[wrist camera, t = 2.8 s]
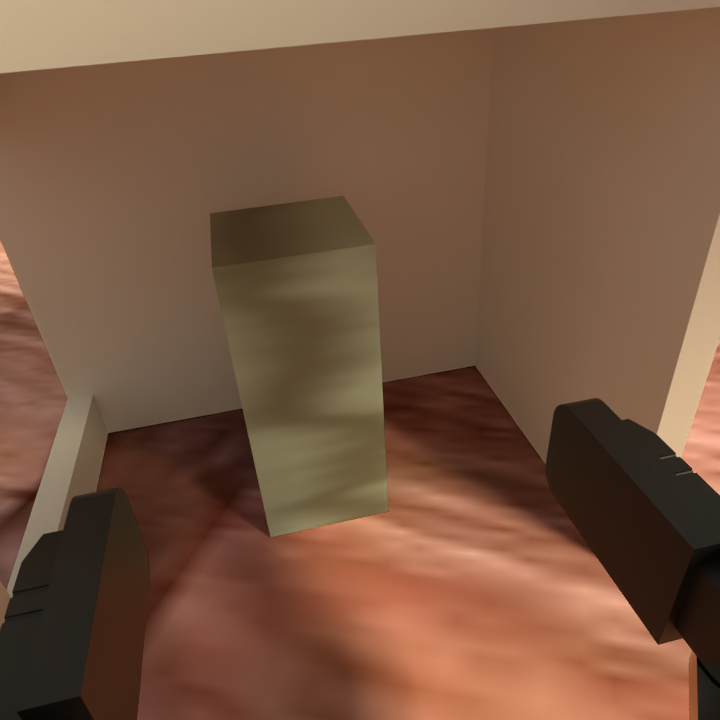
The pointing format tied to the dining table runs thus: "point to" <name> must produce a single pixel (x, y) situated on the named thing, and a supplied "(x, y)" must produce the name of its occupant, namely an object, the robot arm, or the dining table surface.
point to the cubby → (366, 196)
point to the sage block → (305, 357)
